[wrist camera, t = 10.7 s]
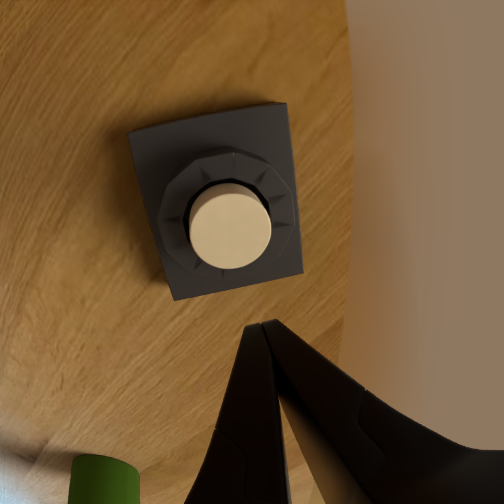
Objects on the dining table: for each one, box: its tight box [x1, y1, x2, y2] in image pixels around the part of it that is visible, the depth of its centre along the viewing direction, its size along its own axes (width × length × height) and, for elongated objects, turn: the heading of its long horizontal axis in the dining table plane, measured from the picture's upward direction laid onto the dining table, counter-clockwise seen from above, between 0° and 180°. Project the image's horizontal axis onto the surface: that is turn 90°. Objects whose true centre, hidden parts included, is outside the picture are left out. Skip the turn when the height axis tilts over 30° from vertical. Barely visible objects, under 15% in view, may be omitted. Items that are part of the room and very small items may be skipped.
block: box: [127, 102, 304, 301], centre depth 17 cm, size 8×10×4 cm
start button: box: [189, 183, 271, 269], centre depth 15 cm, size 4×4×2 cm
